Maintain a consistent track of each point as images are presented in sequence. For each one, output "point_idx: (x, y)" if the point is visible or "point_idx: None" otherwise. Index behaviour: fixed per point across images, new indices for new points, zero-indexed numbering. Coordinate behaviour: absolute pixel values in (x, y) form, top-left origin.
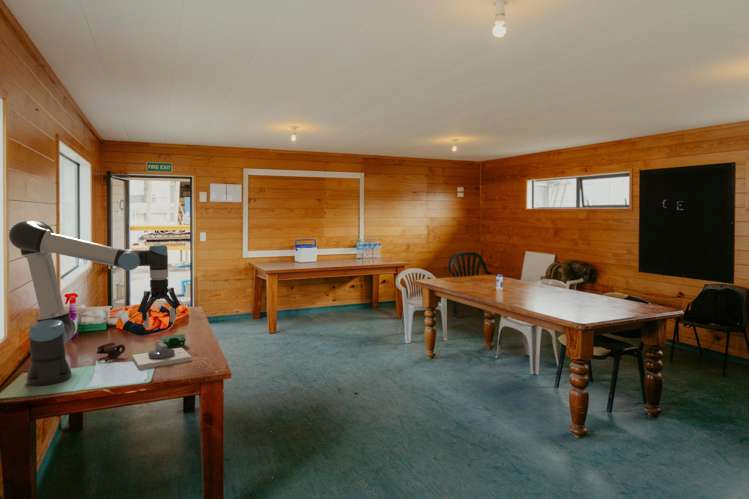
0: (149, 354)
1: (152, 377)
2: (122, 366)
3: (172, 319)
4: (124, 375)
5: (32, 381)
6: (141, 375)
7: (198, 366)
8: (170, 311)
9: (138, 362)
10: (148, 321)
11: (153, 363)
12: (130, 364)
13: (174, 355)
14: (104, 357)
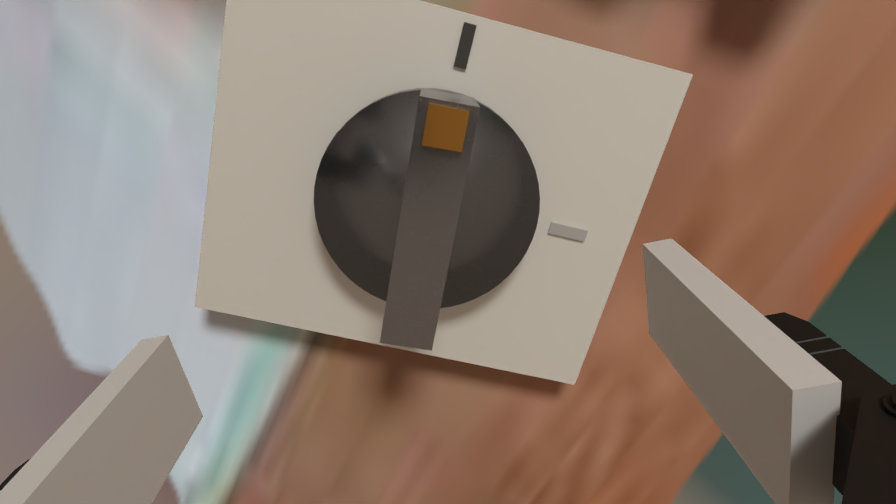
0: (317, 200)
1: (232, 486)
2: (124, 118)
3: (664, 324)
4: (96, 340)
5: None
6: None
7: (526, 492)
8: (738, 356)
9: (212, 242)
10: (149, 494)
11: (303, 325)
12: (191, 113)
13: None
14: None
